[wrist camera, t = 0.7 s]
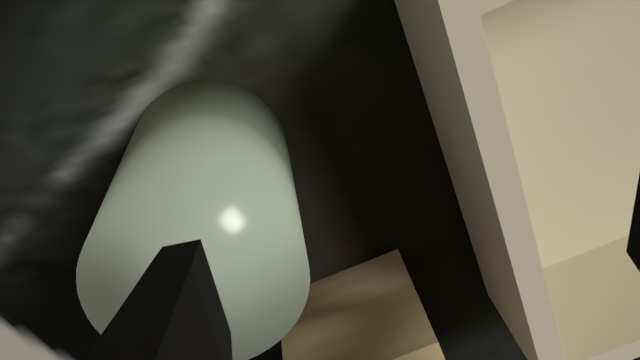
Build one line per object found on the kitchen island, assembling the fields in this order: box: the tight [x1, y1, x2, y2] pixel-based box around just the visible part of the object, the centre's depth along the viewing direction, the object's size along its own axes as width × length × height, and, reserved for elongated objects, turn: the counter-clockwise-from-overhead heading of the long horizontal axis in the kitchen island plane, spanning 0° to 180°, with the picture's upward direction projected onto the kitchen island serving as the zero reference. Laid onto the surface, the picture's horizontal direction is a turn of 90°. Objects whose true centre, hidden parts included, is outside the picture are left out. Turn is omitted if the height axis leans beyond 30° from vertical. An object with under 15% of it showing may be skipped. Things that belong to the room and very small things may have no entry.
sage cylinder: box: [76, 80, 310, 360], centre depth 15 cm, size 5×5×7 cm
